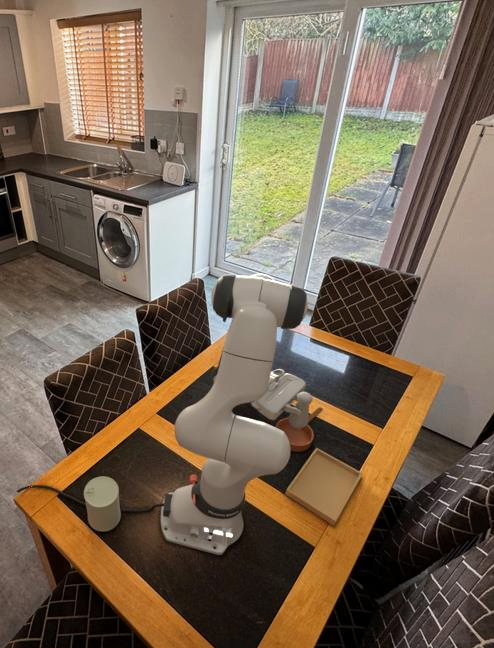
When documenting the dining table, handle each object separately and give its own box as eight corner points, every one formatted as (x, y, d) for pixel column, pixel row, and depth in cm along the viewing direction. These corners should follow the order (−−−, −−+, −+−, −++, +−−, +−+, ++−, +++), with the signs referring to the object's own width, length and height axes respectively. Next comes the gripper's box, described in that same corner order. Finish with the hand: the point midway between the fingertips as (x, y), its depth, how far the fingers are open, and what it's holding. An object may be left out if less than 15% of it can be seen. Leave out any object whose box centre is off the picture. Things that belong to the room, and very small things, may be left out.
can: (90, 500, 116) (86, 474, 109) (122, 500, 116) (120, 475, 109) (85, 531, 108) (80, 506, 101) (119, 532, 108) (117, 506, 101)
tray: (333, 526, 109) (336, 521, 107) (284, 494, 117) (286, 489, 115) (360, 478, 121) (362, 473, 119) (314, 452, 129) (316, 447, 127)
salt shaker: (307, 433, 127) (317, 403, 119) (288, 430, 128) (296, 400, 120) (304, 419, 131) (314, 390, 124) (286, 417, 132) (294, 387, 125)
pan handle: (305, 426, 135) (305, 424, 134) (301, 423, 136) (302, 422, 135) (322, 410, 141) (323, 408, 140) (318, 408, 142) (319, 406, 141)
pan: (277, 450, 129) (279, 444, 128) (271, 422, 139) (273, 416, 137) (315, 452, 128) (317, 446, 127) (306, 424, 138) (308, 418, 136)
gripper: (249, 395, 125) (289, 419, 117) (283, 366, 137) (322, 386, 128) (246, 410, 129) (285, 434, 120) (279, 380, 140) (317, 400, 132)
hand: (304, 409), depth 125 cm, fingers closed on salt shaker, 3 cm apart
